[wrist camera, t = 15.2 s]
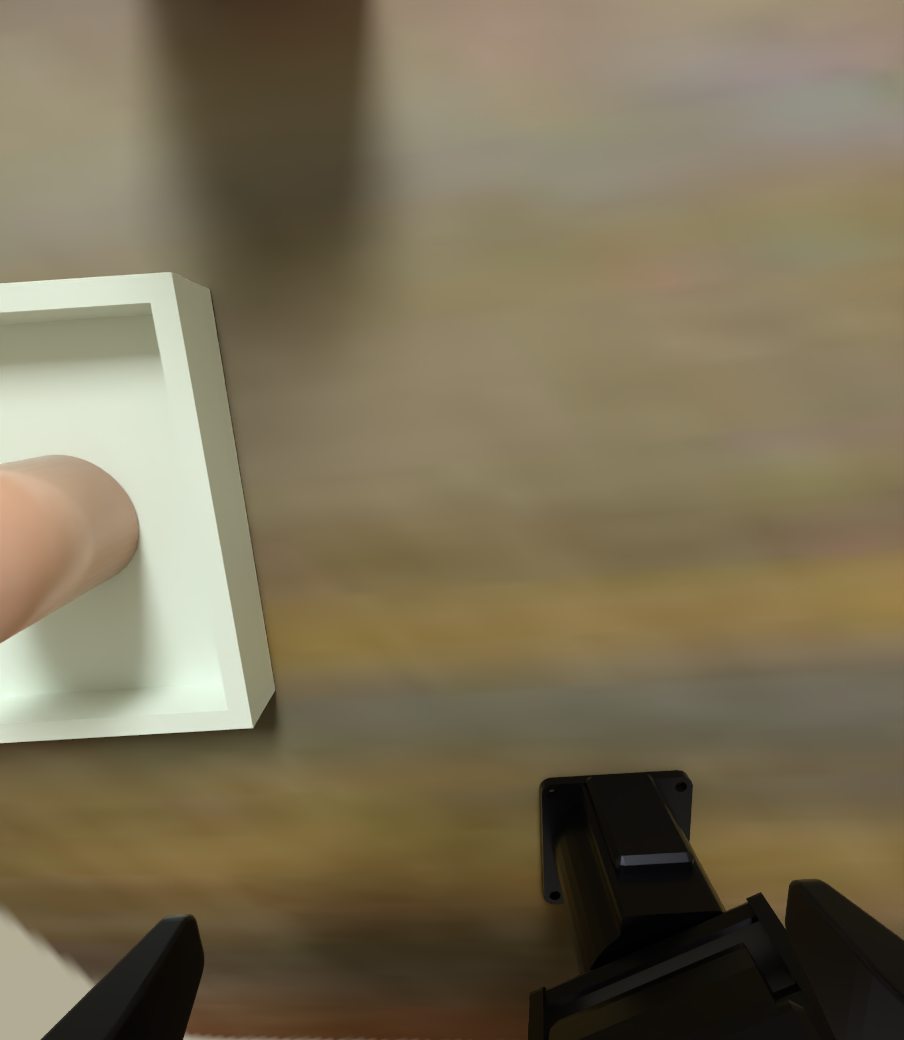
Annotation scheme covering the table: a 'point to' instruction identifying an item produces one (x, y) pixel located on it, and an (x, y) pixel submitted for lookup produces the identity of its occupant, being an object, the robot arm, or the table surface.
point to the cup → (58, 535)
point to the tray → (158, 505)
